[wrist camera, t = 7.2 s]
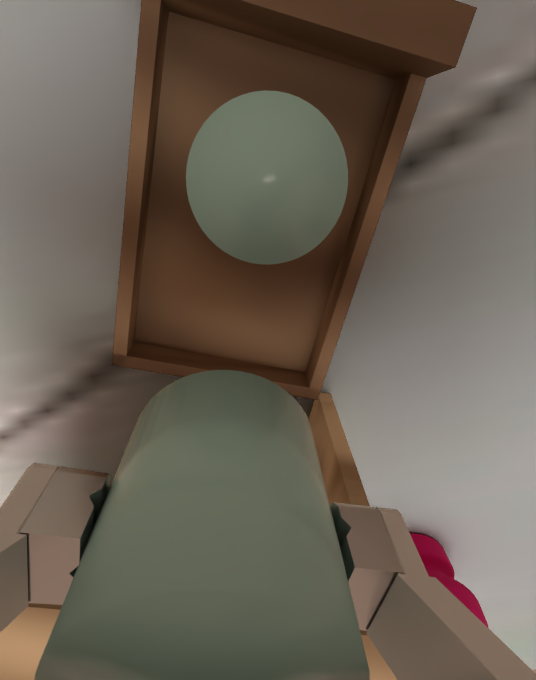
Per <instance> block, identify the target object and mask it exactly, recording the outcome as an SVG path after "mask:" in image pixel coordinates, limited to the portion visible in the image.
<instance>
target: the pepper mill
mask: <svg viewBox="0 0 536 680" xmlns="http://www.w3.org/2000/svg"><path fill="white" fill-rule="evenodd" d="M410 535H411V537H412V540H413V542H414V544H415V546H416V549H417V551H418V553H419V555H420V558H421V560H422V562H423V564H424V567H425V569H426V571H427V573H428V576H429V577H435V578H437V579H438V580H439V581H440V582H441V583H442V584H443V585H444V586H445V587H446V588H447V589H448V590H449V591H450V592H451V593H452V594H453V595H454V596H455V597H456V598H457V599H458V600H459V601H460V602H461V603H463V604H464V605H465V606H466V607H467V608H468V609H469V610H470V611H471V612H472V613H473V614H474V615H475V616H476V617H477V618H478V619H479V620H480V621H481V622H482V623H483V624H484V625H485V626H486V627H488V624H487V621H486V619H485V616H484V614H483V612H482V609H481V607H480V604H479V602H478V600H477V599H476V597H475V596H474V594H473V593H472V592H471V591H470V590H469V589H468V588H466V587H465V586H464V585H463V584H461V583H460V582H458V581H456V580H454V570H453V567H452V565H451V563H450V561H449V559H448V557H447V555H446V553H445V551H444V549H443V547H442V546H441V545H440V544H439V542H437V541H436V540H435V539H433V538H431V537H428V536H426V535H422V534H415V533H410Z"/></svg>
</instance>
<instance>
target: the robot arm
mask: <svg viewBox="0 0 536 680" xmlns="http://www.w3.org/2000/svg"><path fill="white" fill-rule="evenodd" d="M110 482H111V475H110V474H107V473H101V472H94V471H88V470H81V469H75V468H68V467H62V466H60V467H58V466H52V465H45V464H39V463H34V464H32V465H31V466H30V467H28V468H27V470H26V471H25V472H24V474H23V475H22V477H21V478H20V480H19V481H18V483H17V484H16V486H15V487H14V488H13V490H12V491H11V493H10V494H9V496H8V497H7V499H6V500H5V502H4V503H3V504H2V506H1V507H0V632H1V631H2V630H3V629H5V628H6V627H7V626H8V625H9V624H10V623H11V622H12V621H13V620H14V619H15V618H16V617H17V616H18V615H20V614H21V613H22V612H23V611H24V610H25V609H26V608H27V607H28V603H37V604H56V605H63V602H64V600H65V597H66V595H67V592H68V590H69V588H70V585H71V583H72V580H73V578H74V575H75V573H76V570H77V568H78V565H79V563H80V560H81V558H82V555H83V553H84V551H85V548H86V546H87V543H88V541H89V538H90V536H91V533H92V531H93V528H94V526H95V523H96V521H97V518H98V516H99V513H100V511H101V509H102V506H103V504H104V501H105V499H106V496H107V494H108V491H109V489H110ZM330 509H331V513H332V517H333V521H334V525H335V529H336V533H337V538H338V542H339V546H340V550H341V554H342V558H343V562H344V567H345V571H346V575H347V579H348V583H349V587H350V591H351V596H352V600H353V604H354V608H355V612H356V616H357V620H358V625H359V629H360V630H363V631H367V632H366V634H367V635H368V637H369V638H370V640H371V641H372V643H373V644H374V645H375V647H376V648H377V650H378V651H379V653H380V654H381V656H382V657H383V659H384V660H385V662H386V663H387V665H388V666H389V668H390V669H391V671H392V672H393V674H394V675H395V677H396V678H397V680H536V674H535V673H534V672H533V671H532V670H531V669H530V668H529V667H528V666H527V665H526V664H525V663H524V662H523V661H522V660H521V659H520V658H519V657H518V656H517V655H516V654H515V653H514V652H513V651H511V650H510V649H509V648H508V647H507V646H506V645H505V644H504V643H503V642H502V641H501V640H500V639H499V638H498V637H497V636H496V635H495V634H494V633H493V632H492V631H491V630H490V629H489V628H488V627H486V626H485V625H484V624H483V623H482V622H481V621H480V620H479V619H478V618H477V617H476V616H475V615H474V614H473V613H472V612H471V611H470V610H469V609H468V608H467V607H466V606H465V605H464V604H463V603H461V602H460V601H459V600H458V599H457V598H456V597H455V596H454V595H453V594H452V593H451V592H450V591H449V590H448V589H447V588H446V587H445V586H444V585H443V584H442V583H441V582H440V581H439V580H438V579H437V578H435V577H429V576H428V573H427V571H426V569H425V567H424V564H423V562H422V560H421V558H420V555H419V553H418V551H417V549H416V546H415V544H414V542H413V540H412V537H411V535H410V533H409V531H408V528H407V526H406V524H405V522H404V519H403V517H402V515H401V513H400V512H399V511H398V510H396V509H387V508H379V507H375V508H374V507H370V506H361V505H353V504H344V503H336V502H333V503H332V505H331V506H330Z"/></svg>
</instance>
